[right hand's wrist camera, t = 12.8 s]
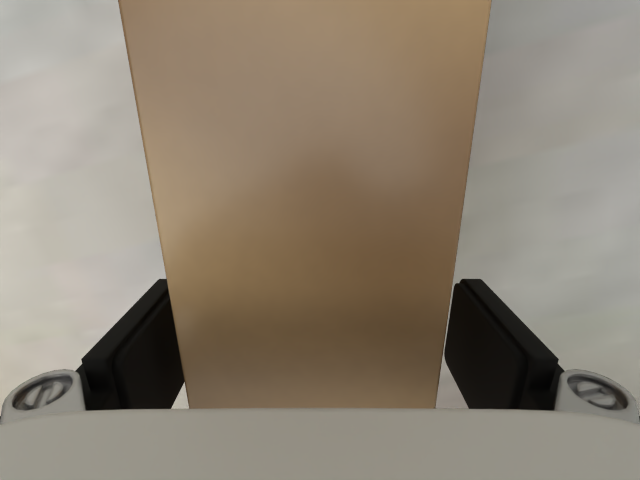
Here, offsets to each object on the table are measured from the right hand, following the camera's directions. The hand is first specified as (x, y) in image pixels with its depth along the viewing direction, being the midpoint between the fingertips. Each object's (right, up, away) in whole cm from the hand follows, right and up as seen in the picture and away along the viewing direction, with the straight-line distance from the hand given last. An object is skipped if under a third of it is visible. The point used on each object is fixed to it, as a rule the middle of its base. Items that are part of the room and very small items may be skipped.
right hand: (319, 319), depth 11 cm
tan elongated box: (0, +9, +5) cm, 11 cm away
